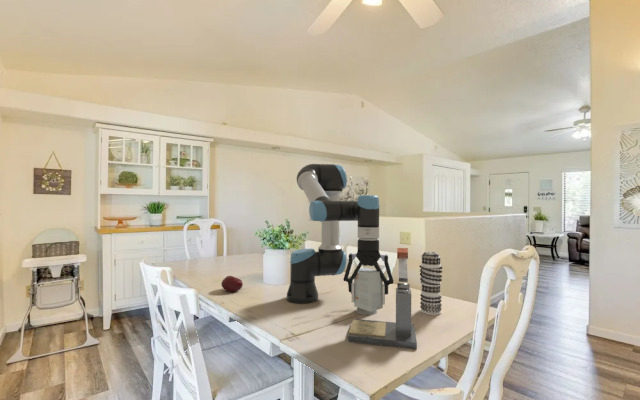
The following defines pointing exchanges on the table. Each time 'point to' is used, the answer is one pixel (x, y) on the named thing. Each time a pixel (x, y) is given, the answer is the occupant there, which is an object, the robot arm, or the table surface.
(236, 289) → the heart
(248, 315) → the table surface
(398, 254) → the lever
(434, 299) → the decorative candle
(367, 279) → the small box
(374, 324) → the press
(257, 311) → the table surface
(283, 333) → the table surface
